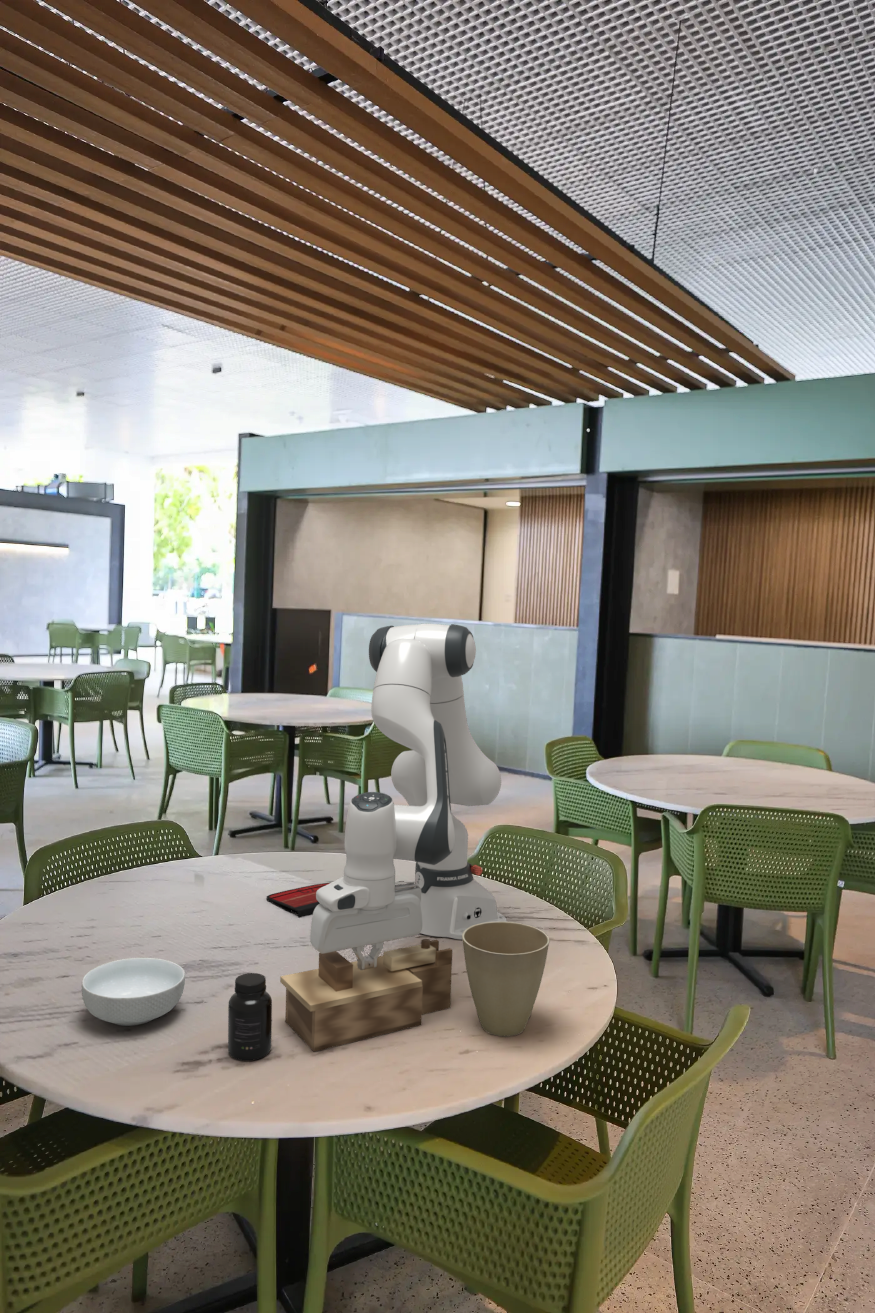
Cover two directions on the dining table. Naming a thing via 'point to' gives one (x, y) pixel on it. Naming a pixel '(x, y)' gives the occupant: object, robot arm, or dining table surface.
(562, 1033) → the dining table surface
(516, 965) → the plant pot
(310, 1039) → the open wooden box
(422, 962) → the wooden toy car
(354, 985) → the lid
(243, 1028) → the supplement bottle
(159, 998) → the cereal bowl
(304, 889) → the binder
